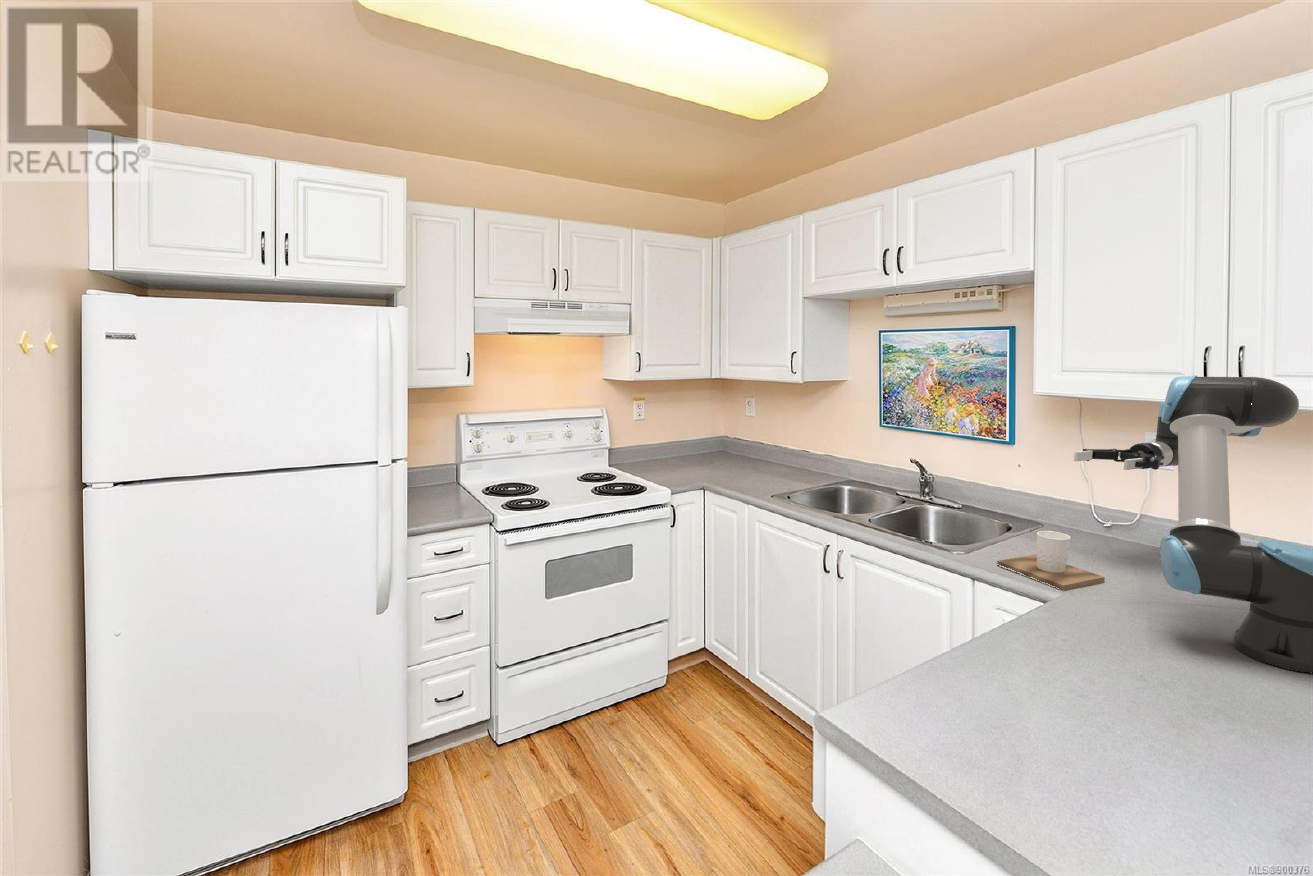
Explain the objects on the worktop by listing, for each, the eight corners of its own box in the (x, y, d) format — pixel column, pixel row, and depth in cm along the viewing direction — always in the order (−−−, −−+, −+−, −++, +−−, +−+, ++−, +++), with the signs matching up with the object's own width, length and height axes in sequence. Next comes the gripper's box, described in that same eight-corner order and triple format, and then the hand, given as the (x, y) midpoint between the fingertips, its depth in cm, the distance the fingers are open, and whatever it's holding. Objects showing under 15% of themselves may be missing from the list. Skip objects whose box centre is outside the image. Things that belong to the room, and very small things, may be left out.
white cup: (1072, 575, 166) (1076, 540, 165) (1040, 573, 168) (1044, 538, 166) (1059, 565, 174) (1062, 531, 172) (1029, 563, 175) (1032, 530, 174)
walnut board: (1104, 582, 165) (1104, 577, 165) (1063, 590, 159) (1063, 585, 159) (1035, 558, 183) (1036, 554, 183) (996, 565, 178) (997, 560, 178)
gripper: (1197, 476, 166) (1147, 482, 158) (1103, 460, 189) (1055, 465, 182) (1201, 449, 165) (1150, 454, 157) (1106, 437, 188) (1057, 441, 181)
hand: (1099, 460), depth 169 cm, fingers open, 13 cm apart
